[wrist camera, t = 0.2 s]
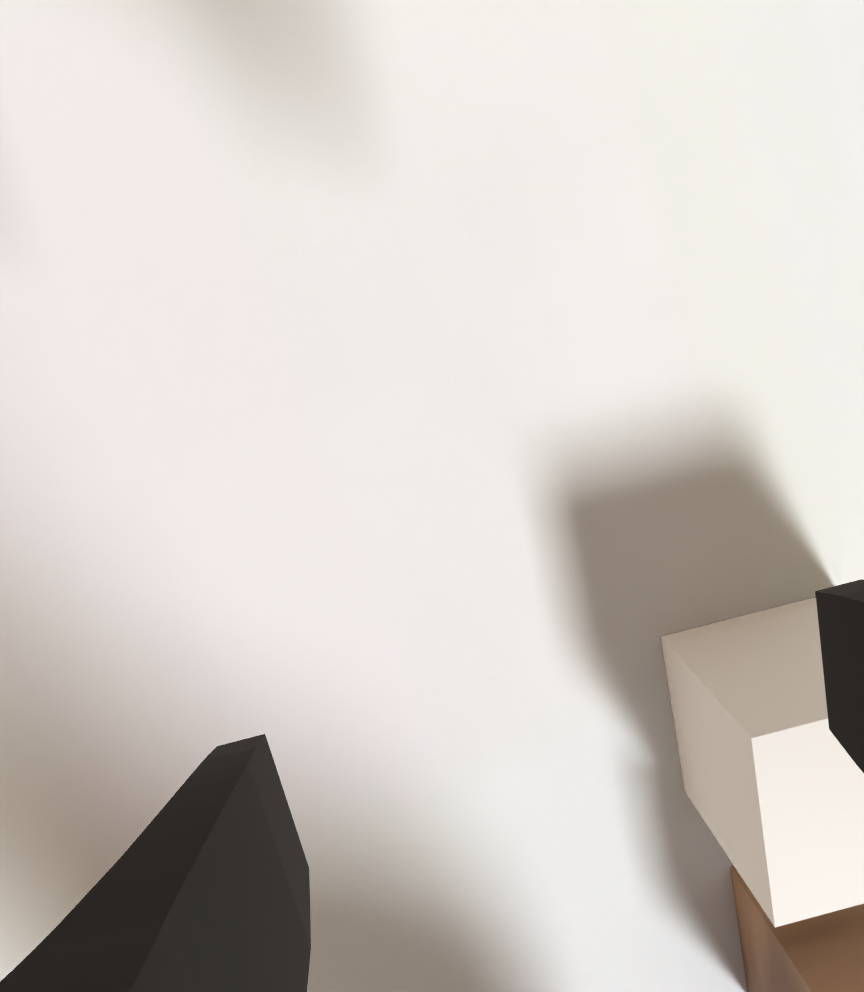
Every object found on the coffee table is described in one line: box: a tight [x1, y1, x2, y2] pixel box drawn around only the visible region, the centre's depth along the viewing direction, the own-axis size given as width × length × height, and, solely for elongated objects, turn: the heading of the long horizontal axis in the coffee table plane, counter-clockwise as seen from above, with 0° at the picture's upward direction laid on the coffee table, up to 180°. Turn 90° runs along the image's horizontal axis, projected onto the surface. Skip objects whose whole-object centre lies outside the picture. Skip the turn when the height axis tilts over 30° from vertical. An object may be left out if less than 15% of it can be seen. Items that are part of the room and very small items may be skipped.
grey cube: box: [661, 597, 864, 927], centre depth 19 cm, size 5×5×5 cm
